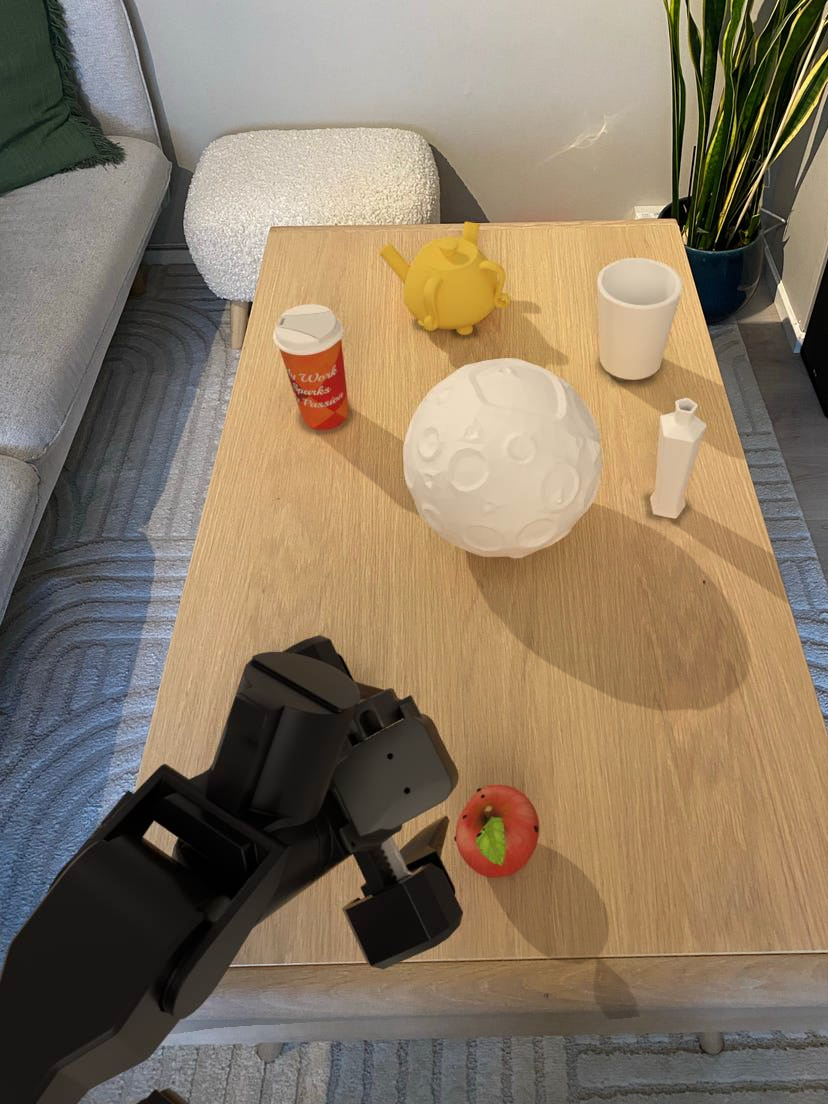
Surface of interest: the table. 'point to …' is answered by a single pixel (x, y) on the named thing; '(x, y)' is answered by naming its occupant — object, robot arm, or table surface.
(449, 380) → the decorative sphere
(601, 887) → the table surface
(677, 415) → the white faceted vase
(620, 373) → the cup
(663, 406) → the table surface
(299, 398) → the paper cup
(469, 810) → the spotted red fruit
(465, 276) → the teapot
